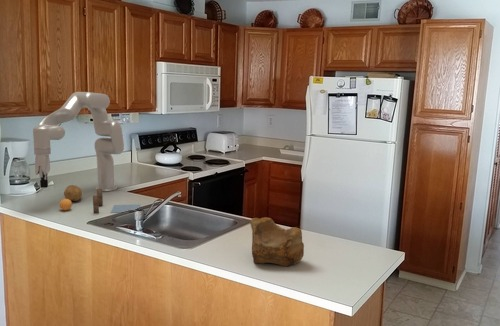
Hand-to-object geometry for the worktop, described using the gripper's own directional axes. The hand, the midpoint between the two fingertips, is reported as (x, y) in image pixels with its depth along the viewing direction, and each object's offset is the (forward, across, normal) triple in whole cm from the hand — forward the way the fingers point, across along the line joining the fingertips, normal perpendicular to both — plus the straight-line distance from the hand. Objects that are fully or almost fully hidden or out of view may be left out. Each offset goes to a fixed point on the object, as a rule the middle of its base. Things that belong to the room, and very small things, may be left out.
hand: (44, 187), depth 236 cm
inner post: (+12, -7, +26) cm, 29 cm away
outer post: (+12, +6, +26) cm, 29 cm away
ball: (+9, -1, +10) cm, 14 cm away
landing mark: (+12, -1, +40) cm, 42 cm away
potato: (+12, -20, +10) cm, 25 cm away
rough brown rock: (+13, +77, +101) cm, 128 cm away
